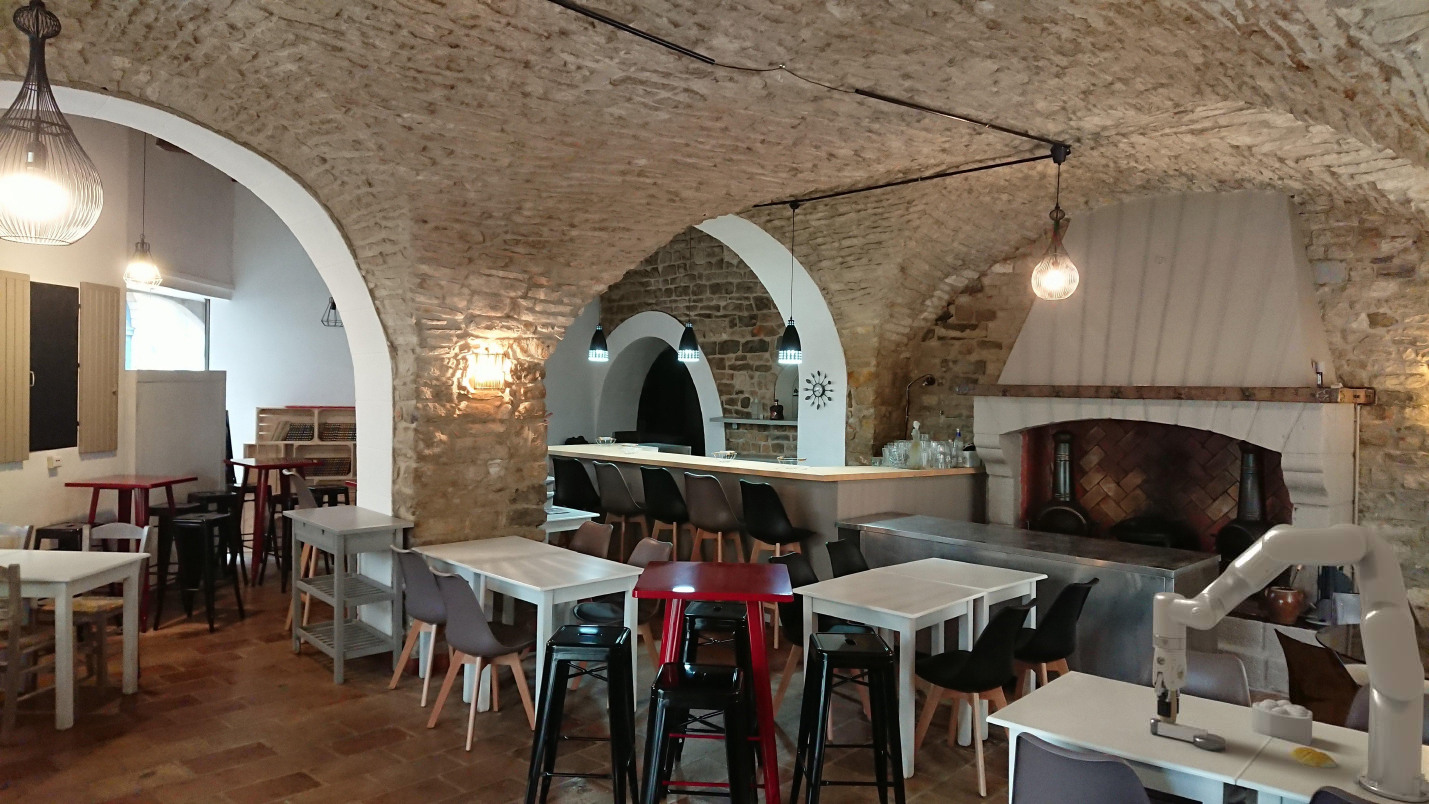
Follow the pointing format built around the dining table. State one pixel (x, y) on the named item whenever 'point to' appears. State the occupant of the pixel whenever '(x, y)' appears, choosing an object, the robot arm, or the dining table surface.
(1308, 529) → the robot arm
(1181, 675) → the handle
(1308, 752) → the bread roll
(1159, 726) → the grey elongated piece
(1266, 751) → the dining table surface
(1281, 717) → the white egg tray
